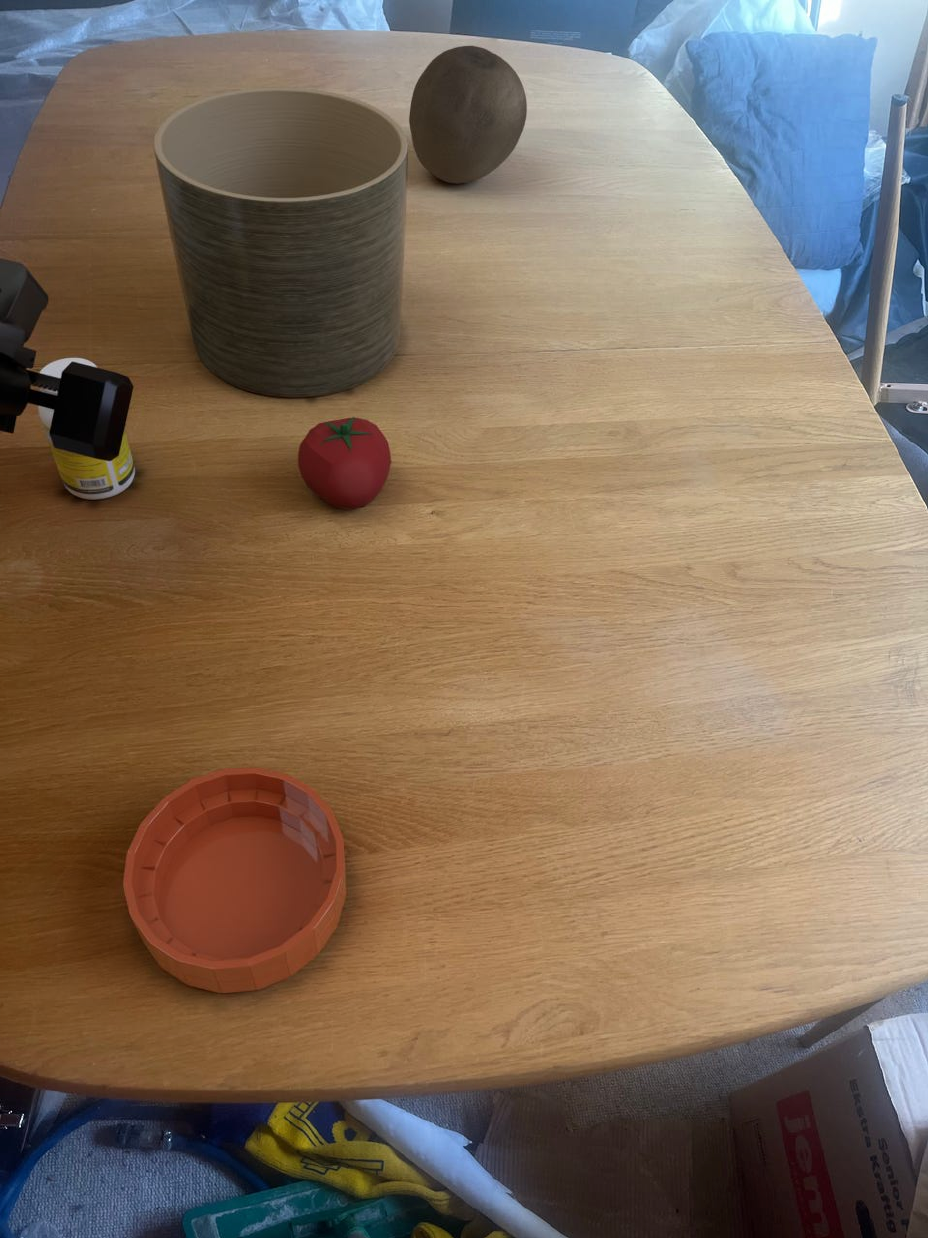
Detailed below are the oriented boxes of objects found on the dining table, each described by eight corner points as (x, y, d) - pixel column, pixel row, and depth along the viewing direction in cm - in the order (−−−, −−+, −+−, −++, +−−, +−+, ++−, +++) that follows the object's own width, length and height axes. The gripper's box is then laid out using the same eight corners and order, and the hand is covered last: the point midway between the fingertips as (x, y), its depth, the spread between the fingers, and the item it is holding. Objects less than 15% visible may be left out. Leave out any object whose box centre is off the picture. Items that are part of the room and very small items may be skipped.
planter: (442, 365, 99) (453, 170, 83) (239, 427, 90) (210, 223, 75) (345, 260, 110) (340, 72, 95) (158, 306, 102) (117, 108, 86)
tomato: (287, 481, 86) (280, 417, 80) (361, 449, 89) (360, 385, 84) (335, 534, 82) (332, 471, 77) (411, 499, 86) (413, 435, 80)
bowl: (165, 1031, 56) (151, 1005, 52) (119, 841, 63) (104, 807, 60) (375, 945, 60) (375, 916, 56) (309, 776, 67) (305, 741, 64)
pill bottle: (112, 445, 88) (83, 341, 79) (150, 480, 85) (124, 377, 76) (49, 475, 85) (12, 370, 76) (87, 513, 82) (52, 408, 73)
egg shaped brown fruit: (454, 214, 119) (462, 85, 107) (386, 168, 125) (387, 41, 114) (538, 186, 125) (555, 61, 113) (470, 143, 131) (479, 20, 120)
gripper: (86, 275, 60) (195, 332, 75) (-173, 214, 62) (-16, 281, 78) (50, 450, 61) (164, 471, 76) (-203, 383, 63) (-43, 417, 79)
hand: (67, 406), depth 77 cm, fingers open, 9 cm apart
